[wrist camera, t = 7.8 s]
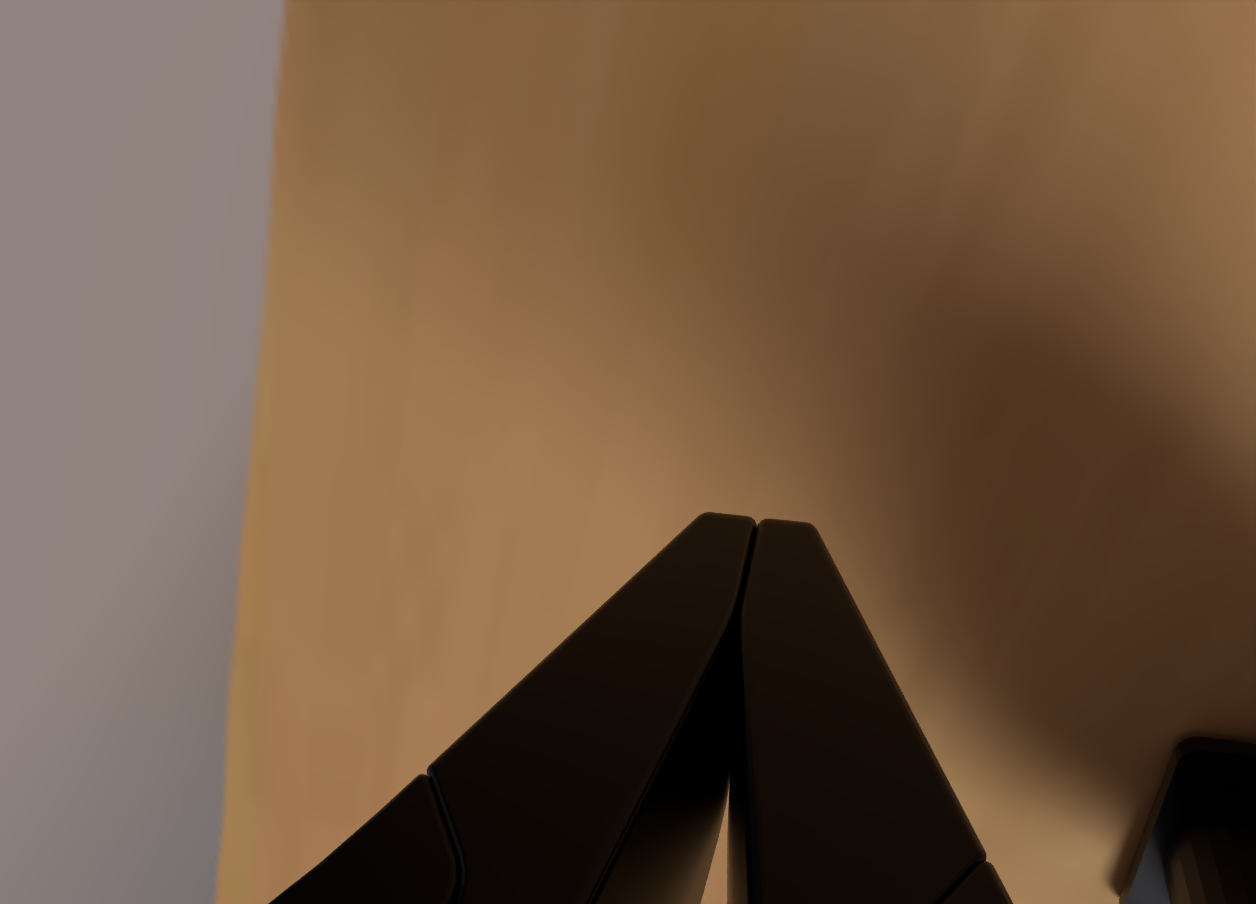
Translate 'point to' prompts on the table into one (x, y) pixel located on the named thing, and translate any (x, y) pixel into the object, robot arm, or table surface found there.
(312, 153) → the table surface
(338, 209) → the table surface
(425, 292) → the table surface
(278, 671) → the table surface
